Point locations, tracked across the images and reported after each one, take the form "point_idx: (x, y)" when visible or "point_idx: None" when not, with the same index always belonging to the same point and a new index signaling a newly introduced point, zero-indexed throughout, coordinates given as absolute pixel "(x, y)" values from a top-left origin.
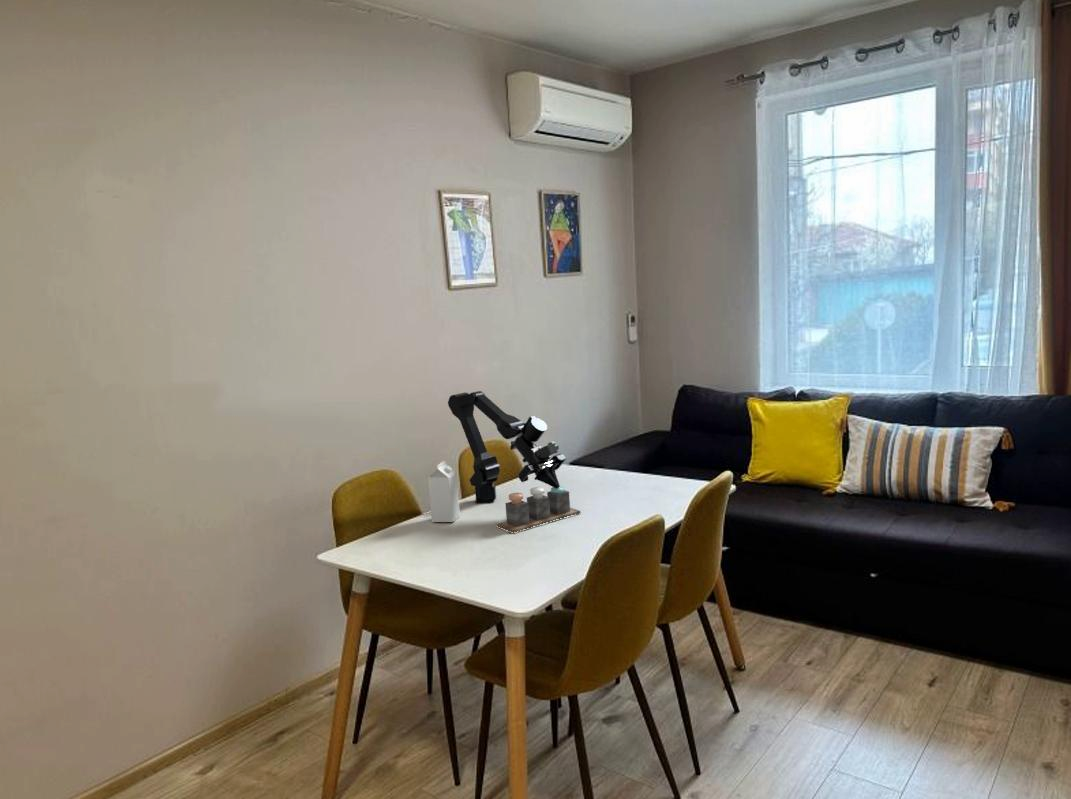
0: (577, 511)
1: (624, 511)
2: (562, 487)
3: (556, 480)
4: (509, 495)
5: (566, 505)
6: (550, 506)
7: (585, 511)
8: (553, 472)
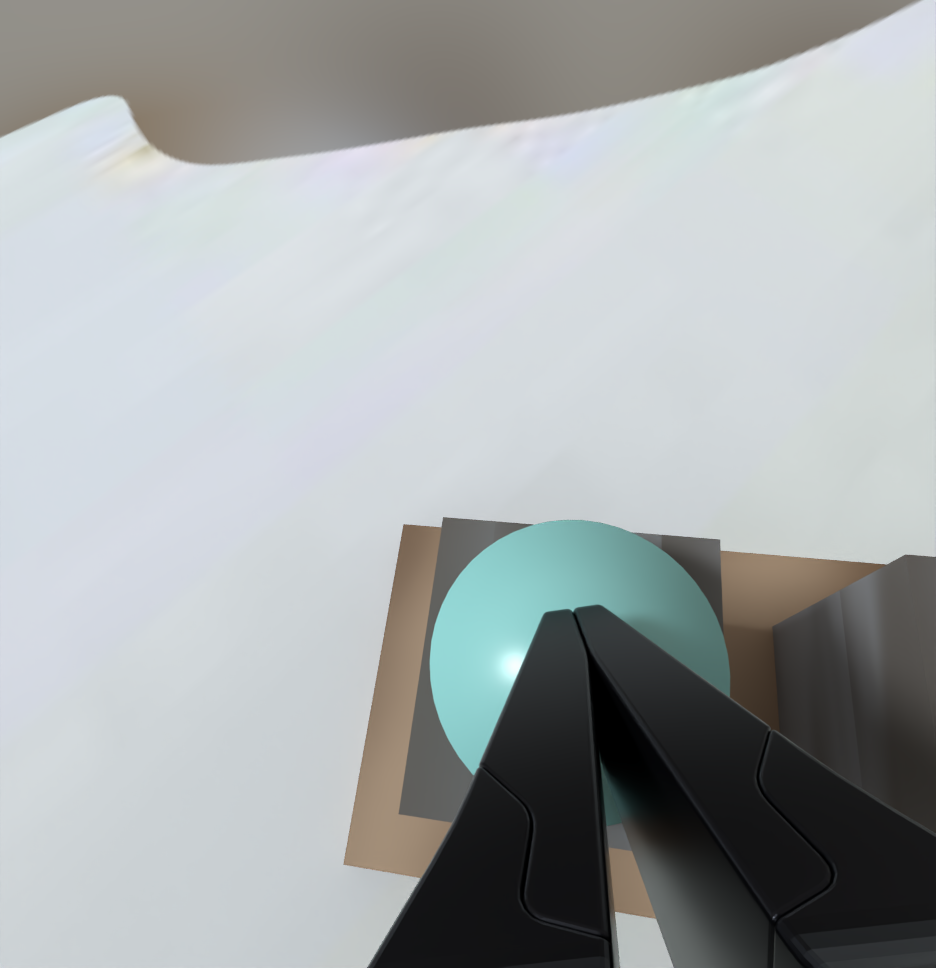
0: (434, 532)
1: (174, 314)
2: (473, 618)
3: (566, 684)
4: None
5: None
6: None
7: (322, 553)
8: (521, 918)
